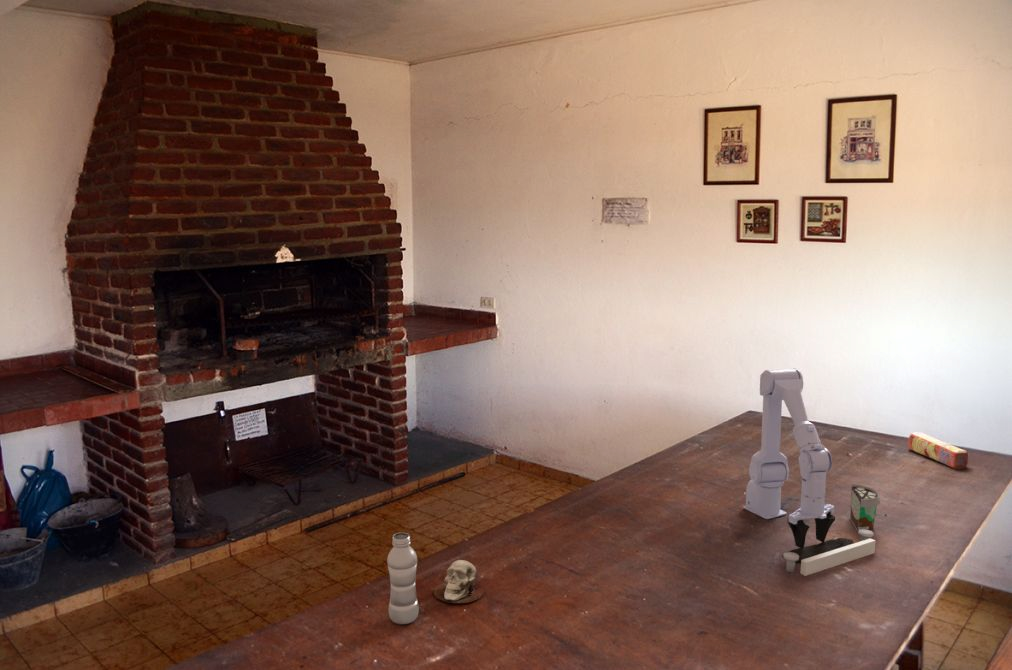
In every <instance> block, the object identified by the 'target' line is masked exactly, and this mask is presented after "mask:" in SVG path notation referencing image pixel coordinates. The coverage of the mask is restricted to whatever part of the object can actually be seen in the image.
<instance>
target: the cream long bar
mask: <svg viewBox="0 0 1012 670" xmlns="http://www.w3.org/2000/svg"><path fill="white" fill-rule="evenodd" d="M857 533H858V535H859V536H860V541H858V542H855V543H854V542H853V544H851V545H848V546H844V547H841V548H838V549H835V550H832V551H829V552H825V553H822V554H819V555H816V556H813V557H809V558H806V559H803V560H801V564H800V573H799V574H801V575H803V576H804V577H805V576H806V577H807V576H810V575H813V574H815V573H819V572H821V571H825V570H828V569H831V568H834V567H836V566H837V567H838V566H840V565H843V564H845V563H846V564H847V563H848V562H853V561H855V560H858V559H861V558H864V557H867V556H870V555H873V554H875V552H876V543H877V542H876V540H875V539H873V537H874V532H873V530H872V531H870V530H865V529H861V530H859V531H858V532H857ZM782 555H783V556H782V557H783V559H785V560H786V565H785V567H786V568H785V570H786V572H788V573H795V571H796V570H795V569H796V563H795V561H797V560H799V555H798V554H796V553H793V552H788V551H786V553H785V552H783V554H782Z"/></svg>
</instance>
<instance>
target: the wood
mask: <svg viewBox="0 0 1012 670" xmlns="http://www.w3.org/2000/svg"><path fill="white" fill-rule="evenodd" d="M851 544H854V540H853V539H849V538H846V537H845V538H844V537H839V538H832V539H827V540H825V541H824V542H821V541H820V542H819V543H817V544H813V545H807V546H804V548H799V547H797V548H794V549H791V550H789V551H786V552H793V553H796V554H798V555H799V560H797V561H795V564H798V565H801V560H803V559H806V558H809V557H813V556H816V555H819V554H822V553H825V552H829V551H832V550H835V549H838V548H841V547H844V546H848V545H851ZM786 552H784V553H786ZM783 555H784V554H782V557H783Z"/></svg>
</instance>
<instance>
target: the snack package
mask: <svg viewBox="0 0 1012 670" xmlns="http://www.w3.org/2000/svg"><path fill="white" fill-rule="evenodd" d="M907 447H908V449H909V450H910V451H913V452H915V453H918V454H920V455H923V456H925V457H927V458H930V459H932V460H935V461H937V462H939V463H941V464H943V465H946V466H947V467H950V468H951V469H954V470H958V469H964V468H966V467H967V466H968V464H969V462H968V461H969V452H968V450H965V449H962V448H960V447H958V446H954V445H953V444H950V443H948V442H945V441H942V440H939V439H937V438H935V437H933V436H930V435H928V434H926V433H924V432H921V431H915V432H912V433H910V435H909V436H908V443H907Z"/></svg>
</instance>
